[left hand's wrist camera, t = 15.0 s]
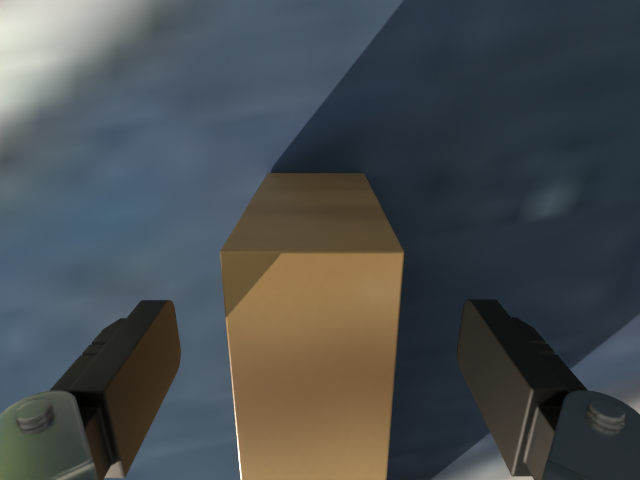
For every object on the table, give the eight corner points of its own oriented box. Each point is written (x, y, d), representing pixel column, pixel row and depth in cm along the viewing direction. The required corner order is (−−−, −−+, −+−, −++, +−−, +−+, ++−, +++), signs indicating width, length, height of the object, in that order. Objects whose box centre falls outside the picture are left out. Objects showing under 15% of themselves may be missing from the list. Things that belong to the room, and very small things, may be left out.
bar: (266, 172, 19) (218, 251, 10) (364, 172, 19) (405, 251, 10) (283, 545, 27) (266, 764, 19) (349, 545, 27) (364, 764, 19)
